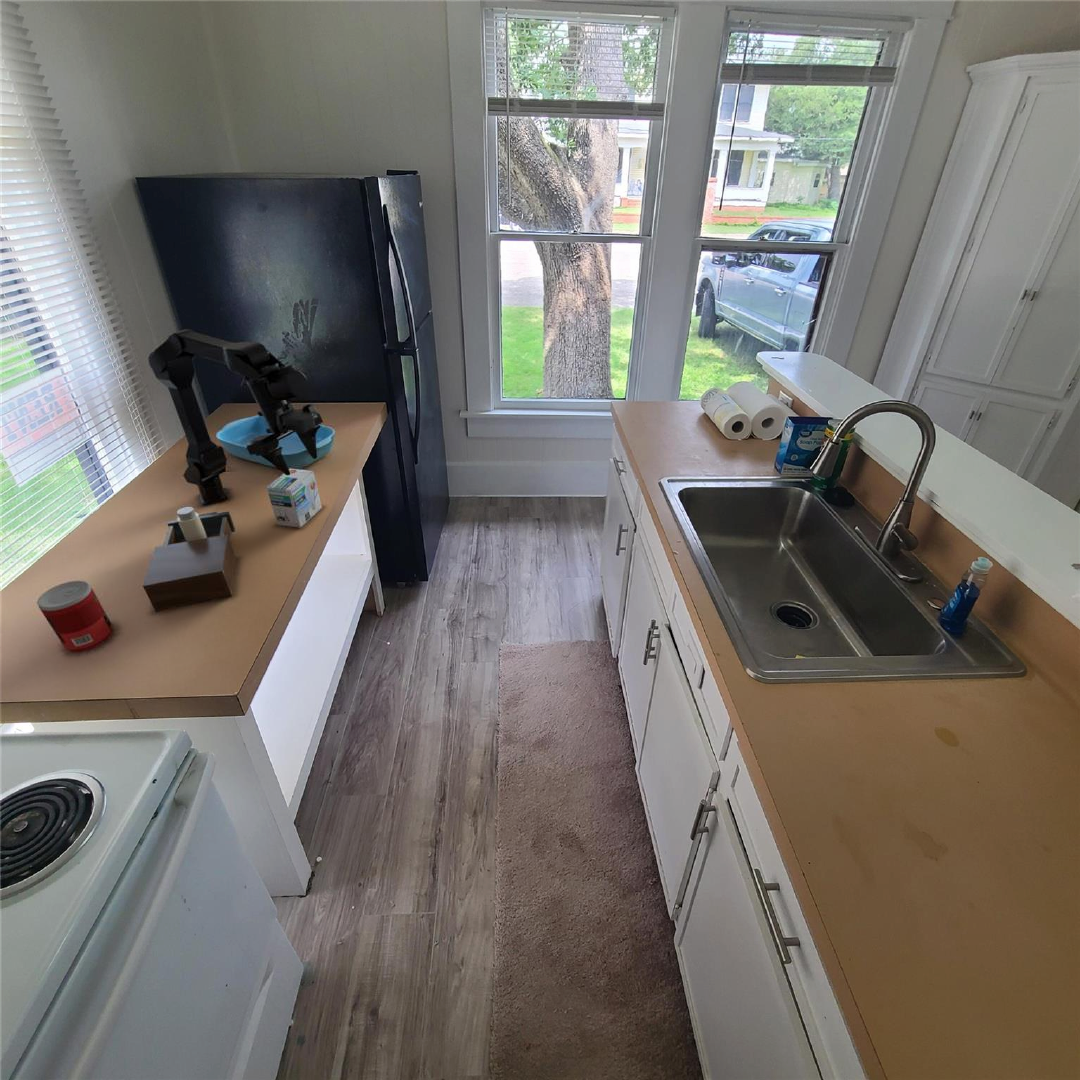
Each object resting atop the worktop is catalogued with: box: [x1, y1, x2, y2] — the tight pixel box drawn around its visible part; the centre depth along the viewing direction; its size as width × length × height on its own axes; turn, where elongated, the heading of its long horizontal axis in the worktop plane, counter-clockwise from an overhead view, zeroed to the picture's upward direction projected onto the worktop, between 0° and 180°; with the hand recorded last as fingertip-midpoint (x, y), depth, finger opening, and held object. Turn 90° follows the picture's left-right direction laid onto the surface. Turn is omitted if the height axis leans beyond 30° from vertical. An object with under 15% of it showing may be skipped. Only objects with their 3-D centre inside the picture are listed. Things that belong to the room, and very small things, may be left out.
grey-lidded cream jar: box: [176, 506, 207, 542], centre depth 128 cm, size 4×4×10 cm
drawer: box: [162, 511, 236, 546], centre depth 133 cm, size 17×13×5 cm
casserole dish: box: [215, 414, 336, 470], centre depth 175 cm, size 37×22×7 cm, turn 66°
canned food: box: [36, 580, 114, 653], centre depth 107 cm, size 8×8×11 cm
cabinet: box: [142, 535, 237, 613], centre depth 122 cm, size 14×14×7 cm
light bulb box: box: [266, 469, 323, 529], centre depth 144 cm, size 11×7×11 cm, turn 168°
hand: (302, 466), depth 135 cm, fingers open, 9 cm apart
